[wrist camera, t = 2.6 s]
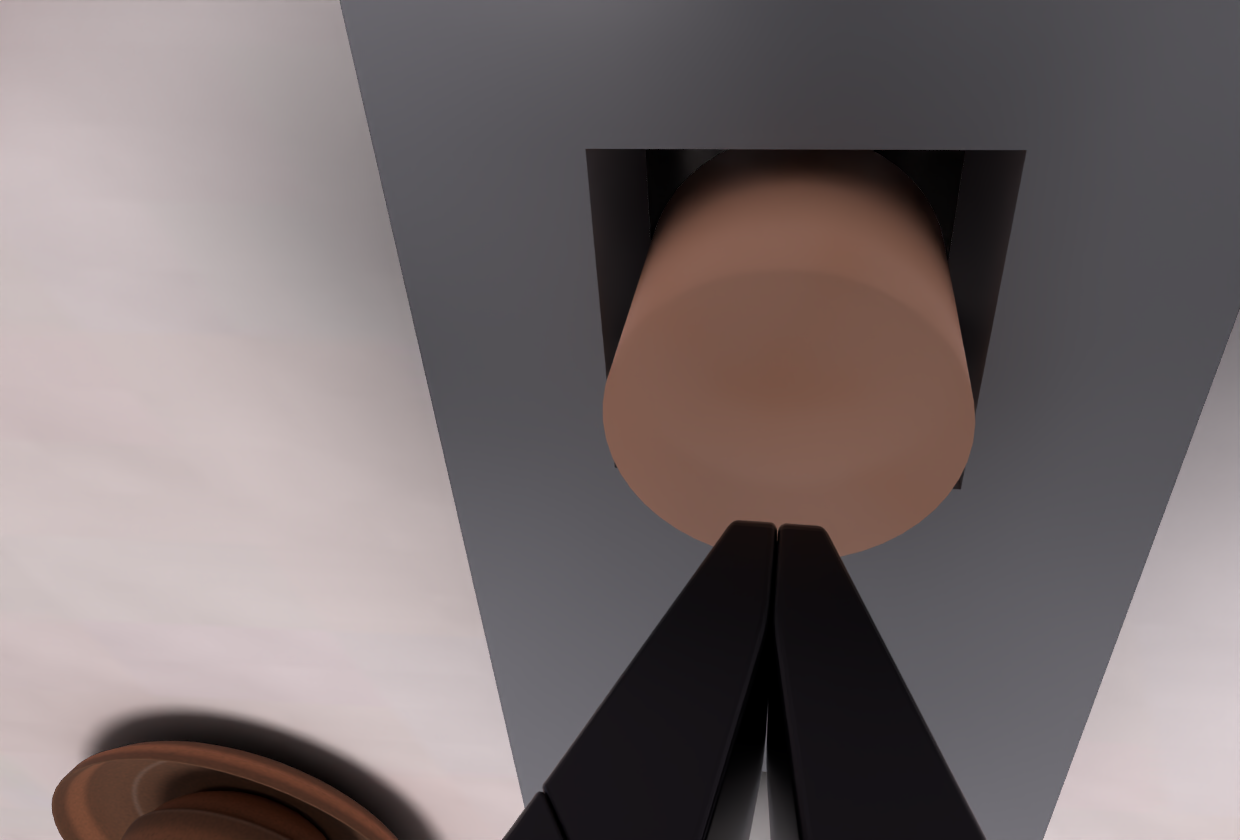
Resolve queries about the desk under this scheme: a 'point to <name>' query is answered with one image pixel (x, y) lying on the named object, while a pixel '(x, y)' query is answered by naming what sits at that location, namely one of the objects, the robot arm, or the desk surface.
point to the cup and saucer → (203, 798)
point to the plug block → (982, 284)
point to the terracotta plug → (793, 352)
